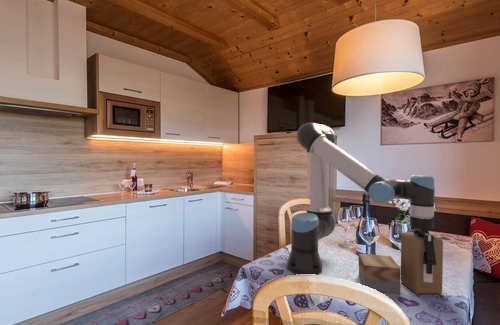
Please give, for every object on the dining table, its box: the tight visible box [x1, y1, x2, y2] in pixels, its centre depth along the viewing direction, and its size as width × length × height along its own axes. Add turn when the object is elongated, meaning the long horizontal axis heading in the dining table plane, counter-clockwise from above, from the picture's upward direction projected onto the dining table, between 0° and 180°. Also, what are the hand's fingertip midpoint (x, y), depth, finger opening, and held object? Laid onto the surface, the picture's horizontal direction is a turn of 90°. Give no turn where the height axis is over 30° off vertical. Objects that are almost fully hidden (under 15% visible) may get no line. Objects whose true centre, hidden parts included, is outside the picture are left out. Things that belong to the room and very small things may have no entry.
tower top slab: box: [358, 253, 401, 282], centre depth 101 cm, size 12×12×5 cm
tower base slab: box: [358, 267, 402, 295], centre depth 102 cm, size 12×12×5 cm
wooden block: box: [400, 231, 444, 295], centre depth 99 cm, size 10×10×20 cm
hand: (420, 274), depth 99 cm, fingers open, 11 cm apart
